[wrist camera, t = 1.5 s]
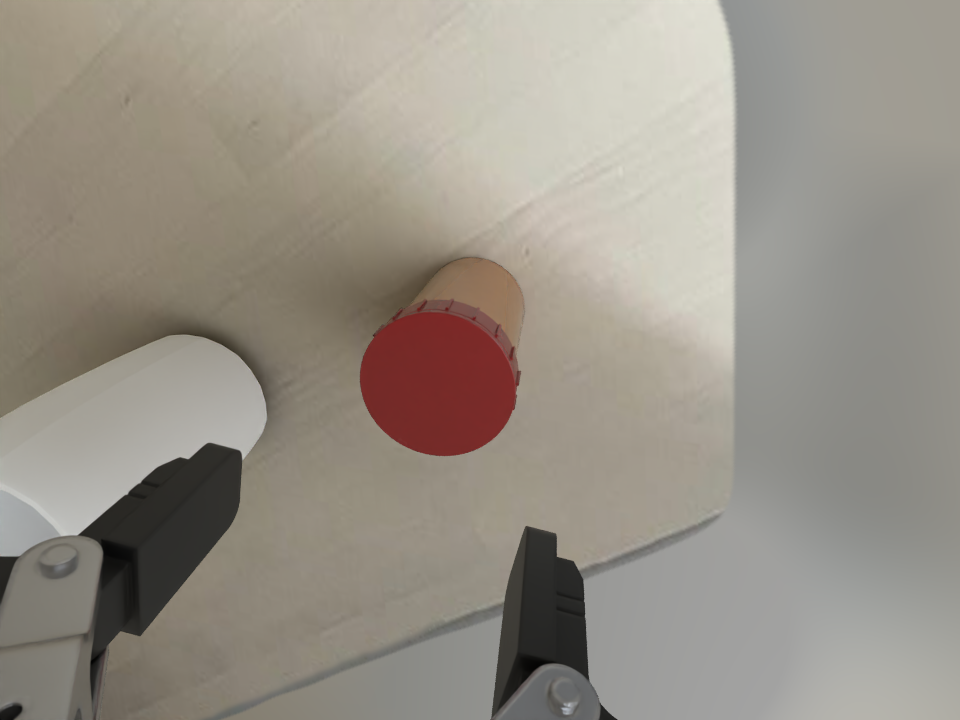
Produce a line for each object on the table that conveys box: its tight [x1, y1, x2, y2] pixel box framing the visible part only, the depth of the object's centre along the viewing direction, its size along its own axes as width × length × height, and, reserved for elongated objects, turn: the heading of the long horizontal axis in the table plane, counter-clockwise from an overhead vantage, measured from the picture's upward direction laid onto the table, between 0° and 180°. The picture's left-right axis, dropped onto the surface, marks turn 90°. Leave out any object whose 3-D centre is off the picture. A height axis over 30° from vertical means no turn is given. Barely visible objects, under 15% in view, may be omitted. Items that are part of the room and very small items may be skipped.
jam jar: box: [409, 258, 524, 356], centre depth 25 cm, size 5×5×9 cm
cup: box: [0, 335, 267, 556], centre depth 27 cm, size 8×8×14 cm
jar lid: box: [360, 299, 521, 456], centre depth 21 cm, size 6×6×2 cm
